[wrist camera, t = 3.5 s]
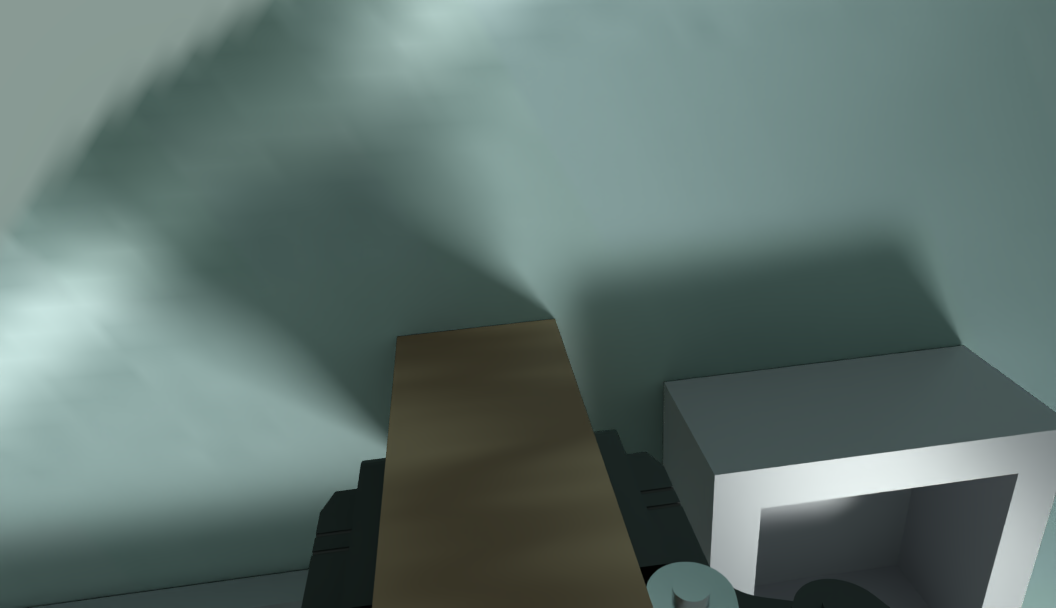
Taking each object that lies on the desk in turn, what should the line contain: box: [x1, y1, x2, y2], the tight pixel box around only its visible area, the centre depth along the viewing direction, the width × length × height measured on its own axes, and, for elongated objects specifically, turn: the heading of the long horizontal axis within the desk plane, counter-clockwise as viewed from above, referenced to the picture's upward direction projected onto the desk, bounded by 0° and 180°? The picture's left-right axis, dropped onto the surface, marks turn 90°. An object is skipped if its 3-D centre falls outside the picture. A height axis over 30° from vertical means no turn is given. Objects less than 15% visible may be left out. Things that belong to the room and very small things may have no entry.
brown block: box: [372, 319, 653, 608], centre depth 13 cm, size 4×4×9 cm
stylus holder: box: [663, 345, 1056, 608], centre depth 18 cm, size 8×8×4 cm
